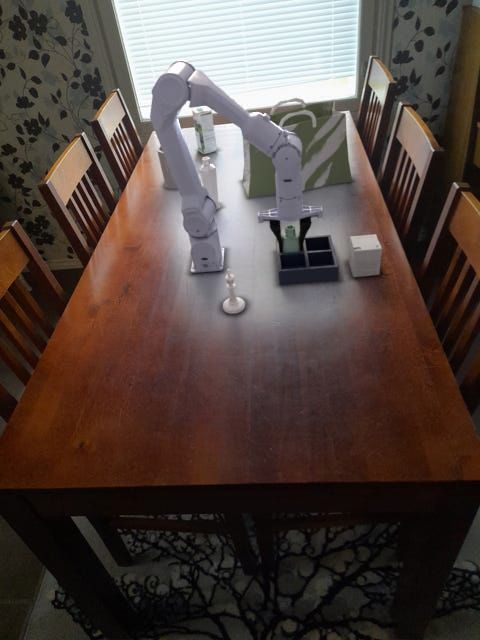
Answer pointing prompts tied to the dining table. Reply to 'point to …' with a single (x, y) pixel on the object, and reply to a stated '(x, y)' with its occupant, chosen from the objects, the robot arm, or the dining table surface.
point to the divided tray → (308, 262)
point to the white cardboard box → (365, 255)
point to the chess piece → (232, 297)
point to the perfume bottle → (209, 179)
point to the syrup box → (204, 130)
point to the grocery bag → (303, 149)
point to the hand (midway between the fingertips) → (291, 245)
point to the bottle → (290, 240)
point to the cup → (166, 170)
